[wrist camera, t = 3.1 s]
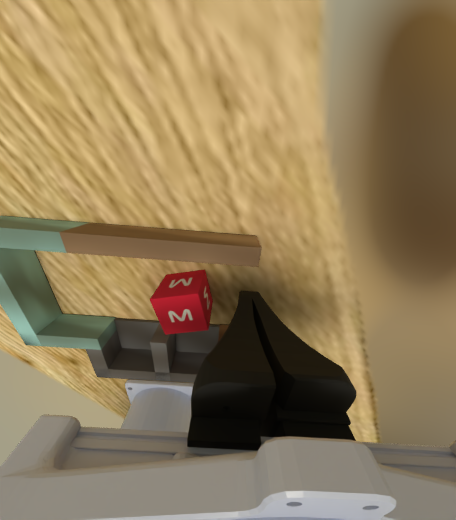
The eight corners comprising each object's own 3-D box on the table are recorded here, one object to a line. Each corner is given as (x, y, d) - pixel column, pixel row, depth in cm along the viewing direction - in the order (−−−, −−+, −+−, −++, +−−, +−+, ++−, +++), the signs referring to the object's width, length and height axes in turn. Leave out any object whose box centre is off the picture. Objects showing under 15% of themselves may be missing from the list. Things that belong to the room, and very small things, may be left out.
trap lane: (236, 361, 17) (237, 385, 15) (66, 350, 17) (44, 373, 15) (256, 235, 11) (261, 247, 9) (0, 215, 11) (-50, 223, 9)
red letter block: (205, 269, 13) (198, 293, 10) (212, 301, 14) (208, 330, 11) (166, 274, 13) (149, 299, 10) (177, 305, 14) (164, 334, 12)
